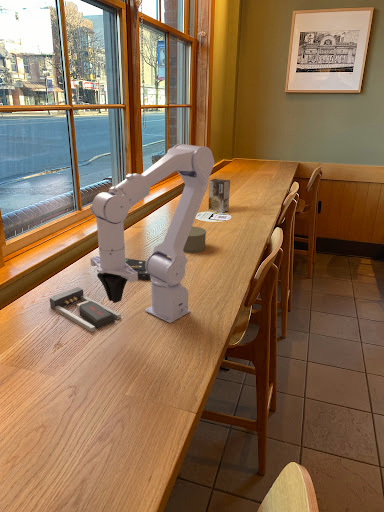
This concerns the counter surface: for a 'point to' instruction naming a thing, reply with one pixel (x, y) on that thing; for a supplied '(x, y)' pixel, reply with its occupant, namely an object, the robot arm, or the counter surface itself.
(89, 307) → the usb drive
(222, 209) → the coffee box
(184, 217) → the robot arm
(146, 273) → the disk drive
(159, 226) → the counter surface
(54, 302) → the dock
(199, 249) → the can
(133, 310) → the counter surface
